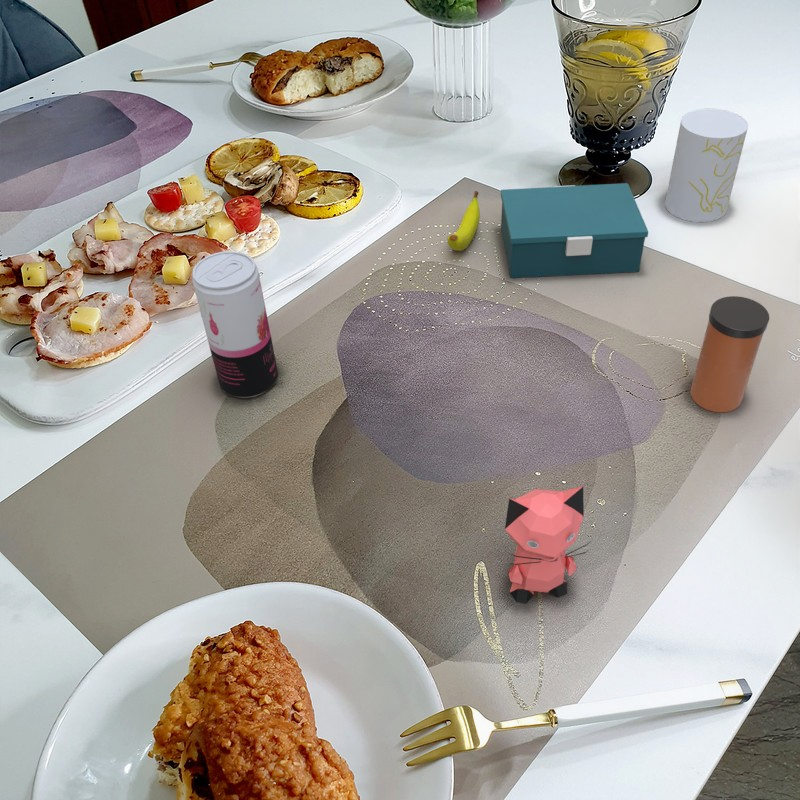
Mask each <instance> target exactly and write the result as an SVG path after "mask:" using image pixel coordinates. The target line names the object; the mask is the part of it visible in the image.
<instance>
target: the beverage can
mask: <svg viewBox="0 0 800 800" xmlns="http://www.w3.org/2000/svg"><path fill="white" fill-rule="evenodd" d="M260 277H261V276H260V272H259V267H258V265H257V264H256V262H255V260H254V258H253V257H251V255H249V254H247V253H245V252H242V251H236V250H226V251H219V252H214V253H212V254H209V255H207V256H205V257H203V258H202V259H200V260H199V261H198V262H197V263H196V264H195V266H194V267H193V269H192V285H193V289H194V291H195V292H194V293H195V297H196V300H197V304H198V309H199V312H200V315H201V316H200V317H201V318H202V324H203V327H204V331H205V335H206V339H207V343H208V346H209V350H210V355H211V358H212V361H213V366H214V369H215V373H216V378H217V380H218V381H217V382H218V385H219V387H220V389H221V390H222V391H223V392H224V393H226V394H227V395H229V396H231V397H236V398H240V399H249V398H255V397H257V396H259V395H263V394H265V393H266V392H267V391H269V390H270V389H272V387H273V386H274V385H275V384H276V382H277V380H278V377H279V371H278V366H277V365H278V364H277V360H276V355H275V349H274V344H273V339H272V334H271V329H270V323H269V319H268V314H267V308H266V303H265V298H264V292H263V288H262V282H261V278H260Z"/></svg>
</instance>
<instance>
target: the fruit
mask: <svg viewBox="0 0 800 800" xmlns="http://www.w3.org/2000/svg"><path fill="white" fill-rule="evenodd" d="M478 195H479V191H478V190H475V191H474V193H473V198H472V199H471V201H470V203H469V205H468V207H467V208H466V209H465V212H464V214H463V217H462V219H461V222H460V225H459V227H458V228H457V230H456V231H455V232H454V233H452V234H449V235H448V236H447V238H446V239H447V240H446V242H447V244H448V247H449V248H450V249H452V250H453V251H459V252H461V251H463V250H466V249H467V248H468V246H470V244H471V242H472V240H473V239H474V237H475V235H476V233H477V229H478V227H479V223H480V217H481V211H480V205H479V202H478Z"/></svg>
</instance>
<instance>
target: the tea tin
mask: <svg viewBox="0 0 800 800" xmlns="http://www.w3.org/2000/svg"><path fill="white" fill-rule="evenodd" d="M769 322H770V314H769V311H768V310H767V308H766V307H765V306H764V305H762V304H761V303H760V302H758V301H756V300H754V299H751V298H749V297H744V296H736V295H731V296H723V297H721V298H718V299H717V300H715V301H714V302H713V303H712V304H711V306H710V309H709V314H708V321H707V325H706V329H705V333H704V337H703V340H702V345H701V349H700V352H699V356H698V359H697V363H696V368H695V372H694V375H693V378H692V383H691V387H690V397H691V398H692V401H694V403H695V404H696V405H698V406H699V407H701V408H702V409H704V410H706V411H710V412H714V413H728V412H729V413H730V412H732V411H734V410H736V409H738V408H739V407H740V405H741V404H742V402H743V399H744V395H745V393H746V390H747V385H748V383H749V380H750V377H751V374H752V371H753V368H754V365H755V361H756V358H757V355H758V353H759V350H760V346H761V343H762V340H763V336H764V334H765V332H766V330H767V328H768V325H769Z"/></svg>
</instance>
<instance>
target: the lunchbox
mask: <svg viewBox="0 0 800 800" xmlns="http://www.w3.org/2000/svg"><path fill="white" fill-rule="evenodd" d="M500 198H501V220H500V232H501V237H502V242H503V248H504V252H505V257H506V262H507V263H506V264H507V268H508V273H509V277H510V279H523V278H524V279H525V278H544V277H545V278H546V277H561V276H585V275H601V274H621V273H638V272H640V268H641V264H642V263H641V262H642V256H643V251H644V245H645V240H646V238H648V236H649V230H648V227H647V225H646V222H645V220H644V218H643V216H642V215H643V214H642V213H641V211H640V208H639V206H638V203H637V202H636V199H635V196H634V194H633V192H632V189H631V187H630V185H629V183H628V182H625V183H624V182H623V183H605V184H603V183H602V184H586V185H585V184H584V185H575V184H573V185H555V186H549V187H548V186H547V187H545V186H544V187H529V188H527V187H526V188H511V189H510V188H509V189H501V190H500Z"/></svg>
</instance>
